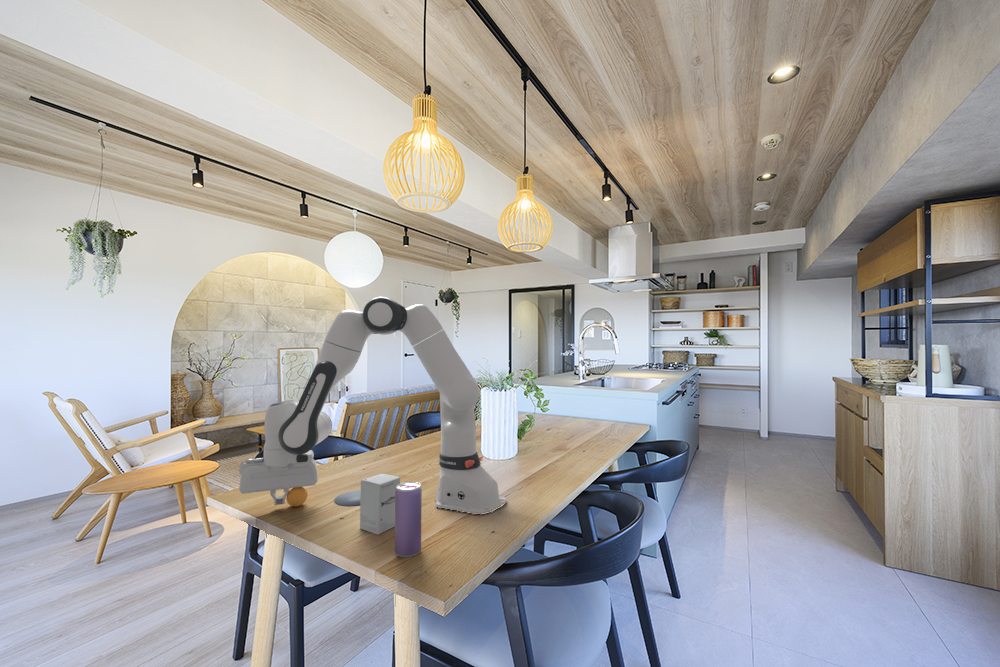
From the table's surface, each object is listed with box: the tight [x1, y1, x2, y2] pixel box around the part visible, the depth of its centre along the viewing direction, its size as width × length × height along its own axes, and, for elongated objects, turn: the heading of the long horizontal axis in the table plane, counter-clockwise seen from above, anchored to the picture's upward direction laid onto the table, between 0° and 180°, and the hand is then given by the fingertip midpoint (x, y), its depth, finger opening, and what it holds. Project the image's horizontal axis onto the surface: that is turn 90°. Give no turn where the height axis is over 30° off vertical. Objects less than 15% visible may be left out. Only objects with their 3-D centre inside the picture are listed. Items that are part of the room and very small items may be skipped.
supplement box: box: [359, 473, 401, 536], centre depth 106 cm, size 7×7×13 cm
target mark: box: [333, 489, 361, 507], centre depth 126 cm, size 13×13×1 cm
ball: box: [286, 487, 308, 508], centre depth 120 cm, size 6×6×6 cm
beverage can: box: [394, 481, 423, 558], centre depth 93 cm, size 6×6×15 cm
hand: (279, 503), depth 118 cm, fingers closed
